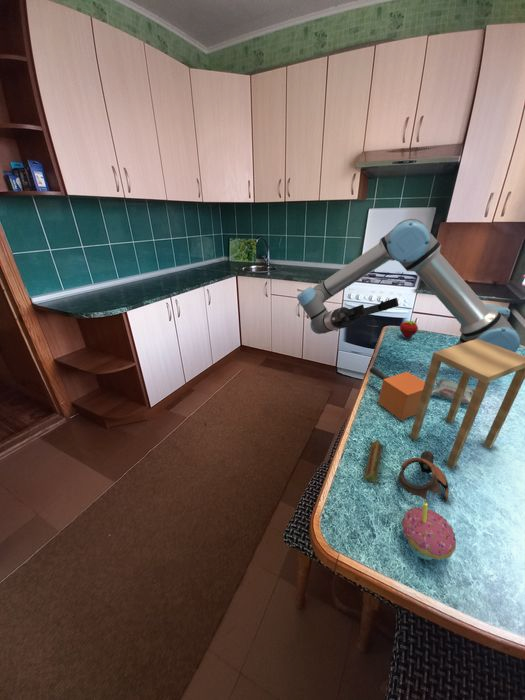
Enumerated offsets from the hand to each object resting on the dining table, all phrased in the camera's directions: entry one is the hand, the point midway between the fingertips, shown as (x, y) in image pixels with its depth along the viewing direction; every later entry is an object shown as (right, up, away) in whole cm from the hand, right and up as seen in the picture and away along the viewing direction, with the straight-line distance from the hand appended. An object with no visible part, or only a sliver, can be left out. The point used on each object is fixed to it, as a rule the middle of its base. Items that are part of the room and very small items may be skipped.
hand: (380, 305), depth 89 cm
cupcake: (-6, -50, -34) cm, 61 cm away
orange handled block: (+5, -29, +5) cm, 30 cm away
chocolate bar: (-9, -42, -17) cm, 46 cm away
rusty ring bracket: (0, -44, -23) cm, 50 cm away
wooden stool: (+14, -38, -12) cm, 42 cm away
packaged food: (+25, -30, +5) cm, 39 cm away
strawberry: (+30, -9, +45) cm, 55 cm away
